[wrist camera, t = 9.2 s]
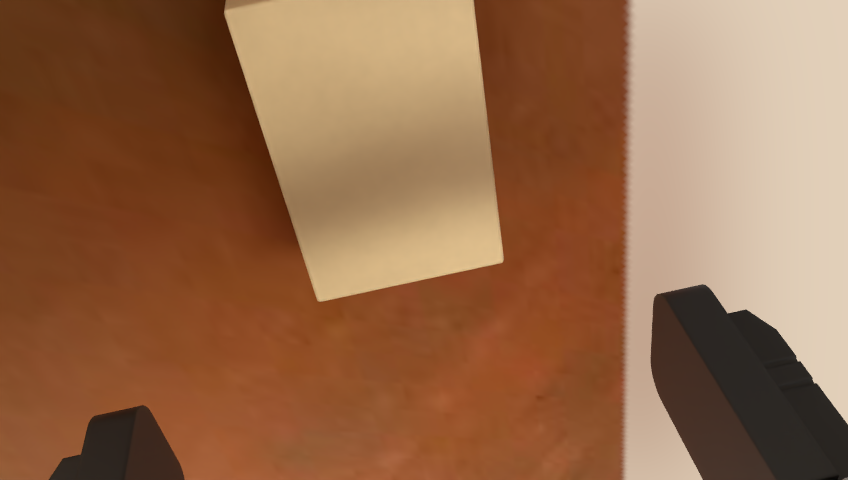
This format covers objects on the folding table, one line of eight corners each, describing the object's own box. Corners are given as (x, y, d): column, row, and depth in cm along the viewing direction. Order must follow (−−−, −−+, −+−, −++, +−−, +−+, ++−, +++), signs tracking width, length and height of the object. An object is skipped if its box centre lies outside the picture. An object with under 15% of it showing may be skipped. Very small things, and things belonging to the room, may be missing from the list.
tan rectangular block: (228, -31, 17) (222, 10, 15) (448, -75, 17) (469, -40, 15) (314, 245, 22) (317, 304, 20) (484, 209, 22) (504, 263, 20)
